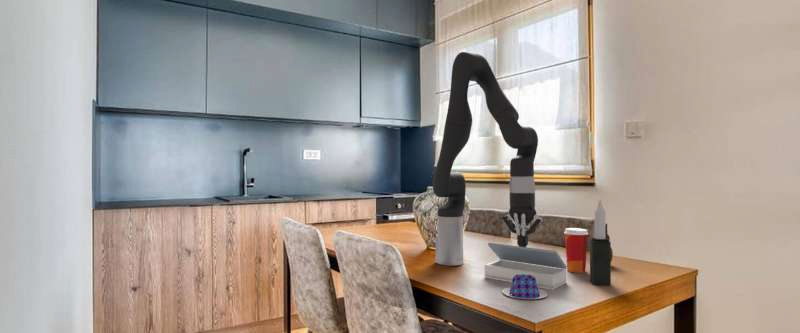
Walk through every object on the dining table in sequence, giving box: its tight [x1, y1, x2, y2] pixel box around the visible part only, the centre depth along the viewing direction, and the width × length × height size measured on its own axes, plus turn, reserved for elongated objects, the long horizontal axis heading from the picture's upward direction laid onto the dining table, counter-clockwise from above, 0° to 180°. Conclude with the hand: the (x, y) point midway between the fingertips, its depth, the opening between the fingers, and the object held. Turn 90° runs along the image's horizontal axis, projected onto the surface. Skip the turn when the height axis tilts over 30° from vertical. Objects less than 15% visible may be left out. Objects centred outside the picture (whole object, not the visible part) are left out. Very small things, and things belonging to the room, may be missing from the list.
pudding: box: [501, 274, 548, 300], centre depth 122 cm, size 12×12×5 cm
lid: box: [487, 242, 567, 270], centre depth 138 cm, size 22×10×1 cm
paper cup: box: [563, 227, 589, 274], centre depth 149 cm, size 8×8×14 cm
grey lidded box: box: [484, 259, 567, 291], centre depth 137 cm, size 22×10×4 cm, turn 49°
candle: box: [589, 199, 612, 287], centre depth 133 cm, size 5×5×25 cm
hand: (522, 247), depth 136 cm, fingers closed
